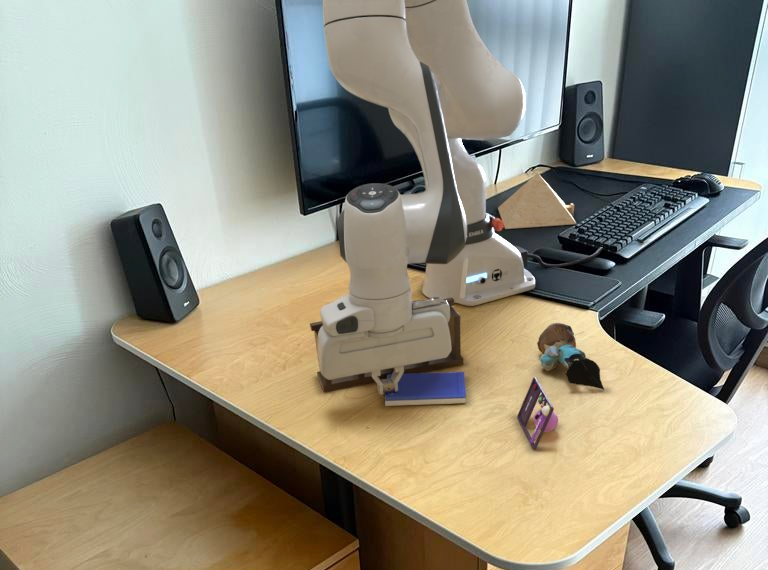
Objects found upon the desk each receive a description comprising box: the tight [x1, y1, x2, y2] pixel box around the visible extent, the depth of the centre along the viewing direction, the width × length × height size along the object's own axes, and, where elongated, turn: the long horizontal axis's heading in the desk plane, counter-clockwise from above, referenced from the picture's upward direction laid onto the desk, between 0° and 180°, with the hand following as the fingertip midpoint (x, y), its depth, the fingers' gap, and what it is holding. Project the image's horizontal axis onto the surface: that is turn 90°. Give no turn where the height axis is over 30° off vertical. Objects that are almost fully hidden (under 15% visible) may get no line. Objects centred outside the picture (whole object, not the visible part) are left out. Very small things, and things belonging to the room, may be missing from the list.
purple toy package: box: [516, 377, 559, 450], centre depth 108 cm, size 7×5×9 cm
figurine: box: [536, 322, 605, 391], centre depth 121 cm, size 8×16×6 cm, turn 10°
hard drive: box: [384, 371, 467, 407], centre depth 121 cm, size 2×8×12 cm
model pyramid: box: [497, 172, 577, 230], centre depth 183 cm, size 17×17×10 cm
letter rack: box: [309, 298, 465, 393], centre depth 125 cm, size 24×5×10 cm, turn 105°
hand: (388, 391), depth 119 cm, fingers closed
